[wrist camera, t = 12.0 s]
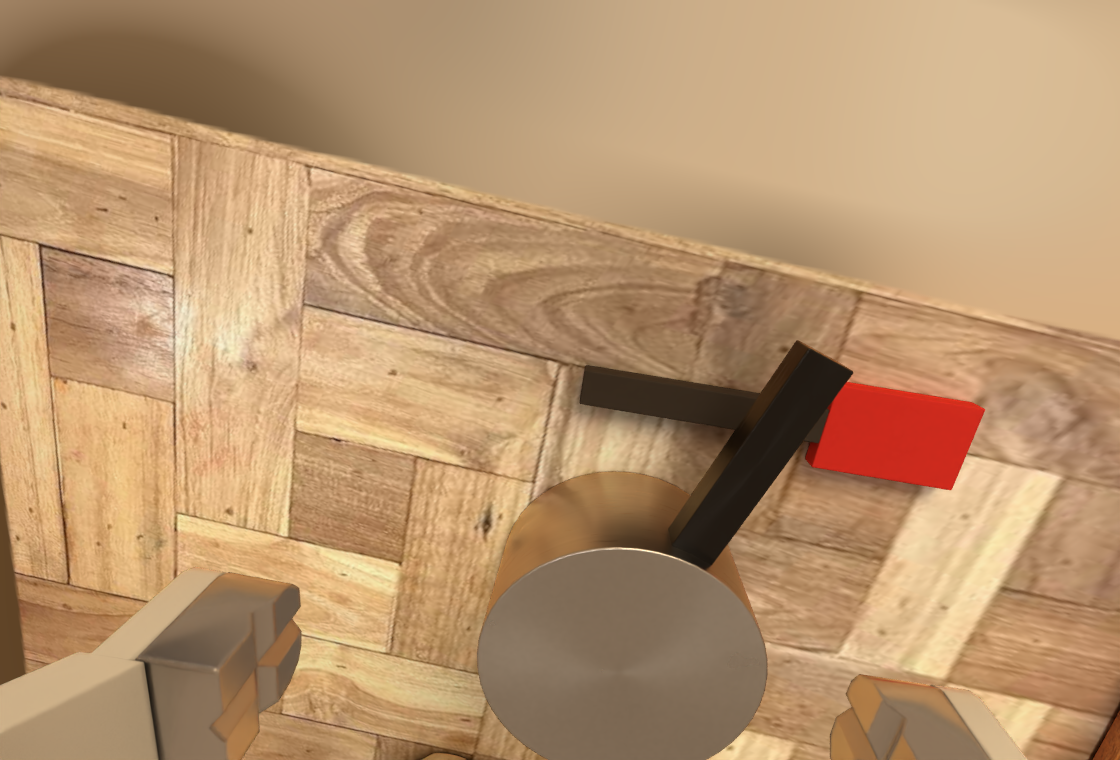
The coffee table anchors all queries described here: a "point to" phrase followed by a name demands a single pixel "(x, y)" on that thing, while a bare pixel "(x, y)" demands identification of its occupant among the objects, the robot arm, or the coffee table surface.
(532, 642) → the saucepan
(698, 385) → the spatula
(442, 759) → the flower pot
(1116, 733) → the wooden box
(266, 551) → the coffee table surface
